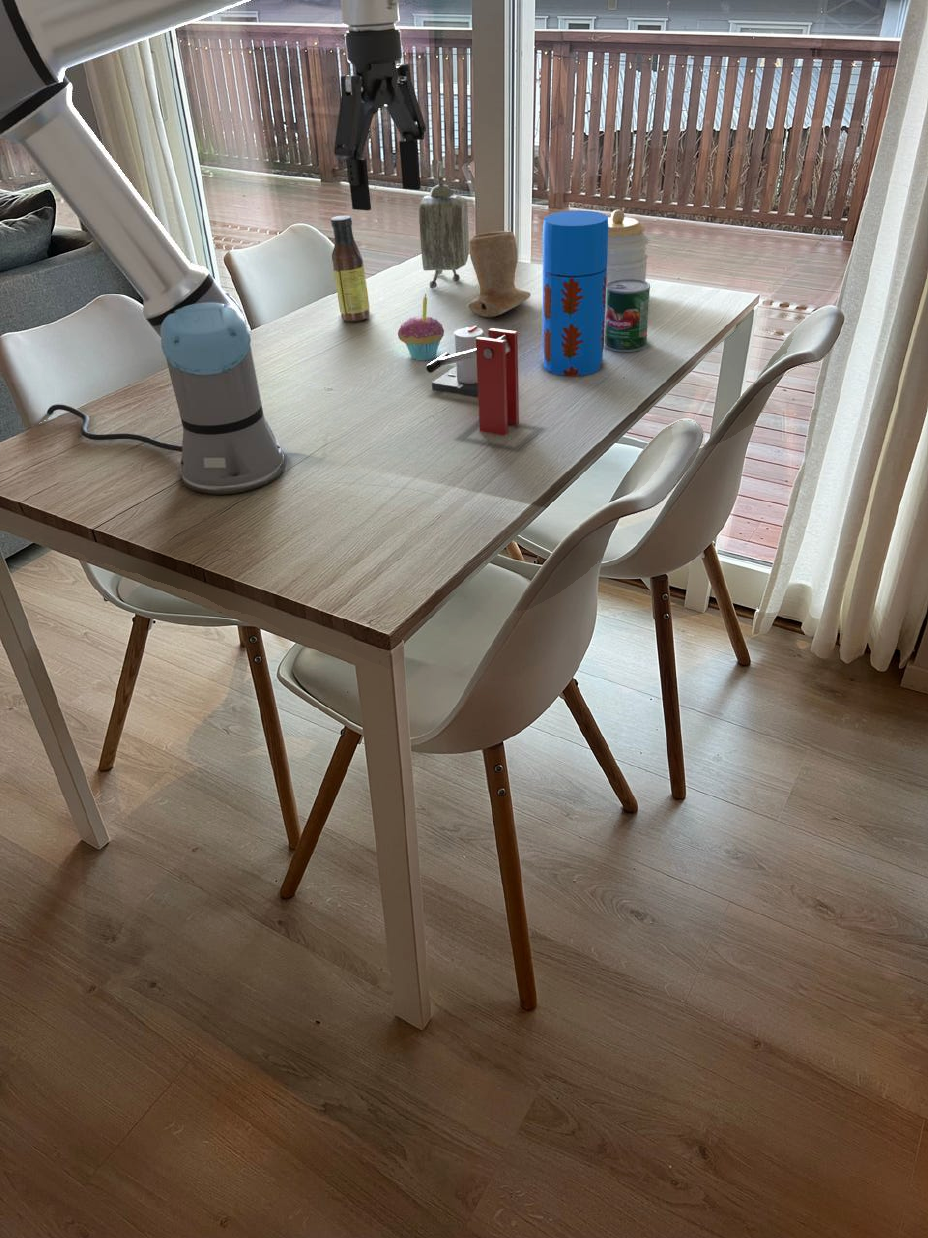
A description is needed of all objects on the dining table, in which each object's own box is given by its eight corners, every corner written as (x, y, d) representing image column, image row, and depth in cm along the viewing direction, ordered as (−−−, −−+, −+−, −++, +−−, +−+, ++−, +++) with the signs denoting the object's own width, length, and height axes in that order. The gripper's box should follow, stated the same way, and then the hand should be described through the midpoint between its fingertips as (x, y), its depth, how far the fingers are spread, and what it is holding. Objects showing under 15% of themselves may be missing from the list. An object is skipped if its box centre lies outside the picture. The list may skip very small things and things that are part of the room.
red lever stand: (459, 439, 145) (453, 339, 135) (483, 419, 150) (479, 322, 141) (517, 450, 141) (515, 348, 131) (539, 429, 146) (539, 330, 137)
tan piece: (489, 294, 203) (487, 221, 195) (537, 300, 198) (537, 226, 189) (452, 314, 193) (448, 239, 184) (502, 322, 188) (500, 245, 179)
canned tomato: (645, 337, 177) (649, 278, 171) (647, 351, 171) (651, 291, 164) (603, 337, 178) (605, 279, 171) (604, 352, 172) (606, 292, 165)
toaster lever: (429, 377, 143) (423, 362, 142) (446, 364, 146) (441, 350, 146) (499, 358, 135) (493, 343, 134) (515, 346, 139) (510, 330, 138)
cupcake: (454, 354, 175) (451, 289, 168) (423, 367, 170) (417, 301, 163) (422, 344, 180) (417, 281, 173) (390, 357, 175) (384, 293, 168)
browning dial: (477, 385, 155) (474, 336, 150) (452, 381, 157) (449, 333, 152) (490, 375, 159) (488, 327, 154) (465, 371, 161) (463, 323, 156)
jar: (649, 306, 191) (655, 215, 181) (586, 309, 192) (588, 219, 181) (640, 287, 202) (645, 200, 191) (580, 290, 202) (582, 203, 192)
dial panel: (431, 397, 159) (430, 382, 157) (456, 378, 165) (455, 364, 163) (488, 407, 154) (487, 392, 152) (512, 387, 160) (511, 372, 159)
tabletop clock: (432, 272, 219) (424, 155, 204) (470, 271, 218) (465, 154, 203) (424, 291, 207) (415, 169, 192) (464, 290, 206) (458, 167, 191)
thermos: (600, 377, 162) (606, 226, 147) (539, 375, 164) (539, 226, 149) (605, 354, 171) (611, 209, 156) (547, 353, 173) (547, 210, 158)
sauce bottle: (376, 315, 195) (365, 215, 184) (358, 324, 191) (346, 222, 180) (352, 311, 198) (340, 212, 187) (333, 320, 194) (320, 219, 183)
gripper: (341, 36, 113) (361, 220, 126) (443, 18, 131) (451, 182, 143) (292, 37, 117) (316, 216, 129) (397, 19, 134) (410, 179, 146)
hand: (387, 198), depth 136 cm, fingers open, 13 cm apart
